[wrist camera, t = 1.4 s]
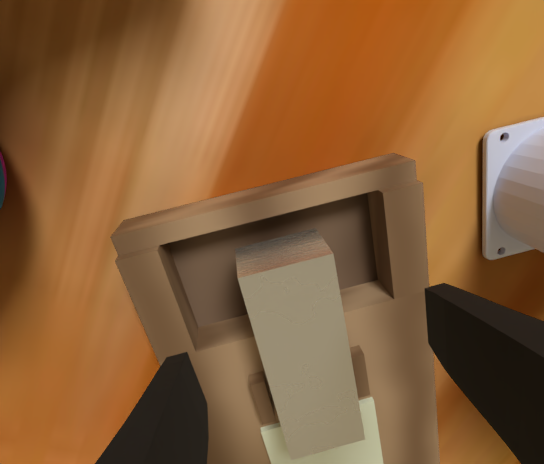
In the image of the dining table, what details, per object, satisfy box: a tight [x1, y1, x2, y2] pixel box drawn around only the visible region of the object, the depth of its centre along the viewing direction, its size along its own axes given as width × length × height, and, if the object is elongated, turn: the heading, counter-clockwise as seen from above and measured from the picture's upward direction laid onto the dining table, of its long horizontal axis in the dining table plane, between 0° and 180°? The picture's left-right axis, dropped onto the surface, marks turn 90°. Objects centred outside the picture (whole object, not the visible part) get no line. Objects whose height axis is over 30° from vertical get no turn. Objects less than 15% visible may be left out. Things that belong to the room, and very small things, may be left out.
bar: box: [235, 228, 365, 460], centre depth 18 cm, size 4×11×3 cm, turn 13°
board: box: [111, 153, 440, 464], centre depth 22 cm, size 15×24×4 cm, turn 13°
